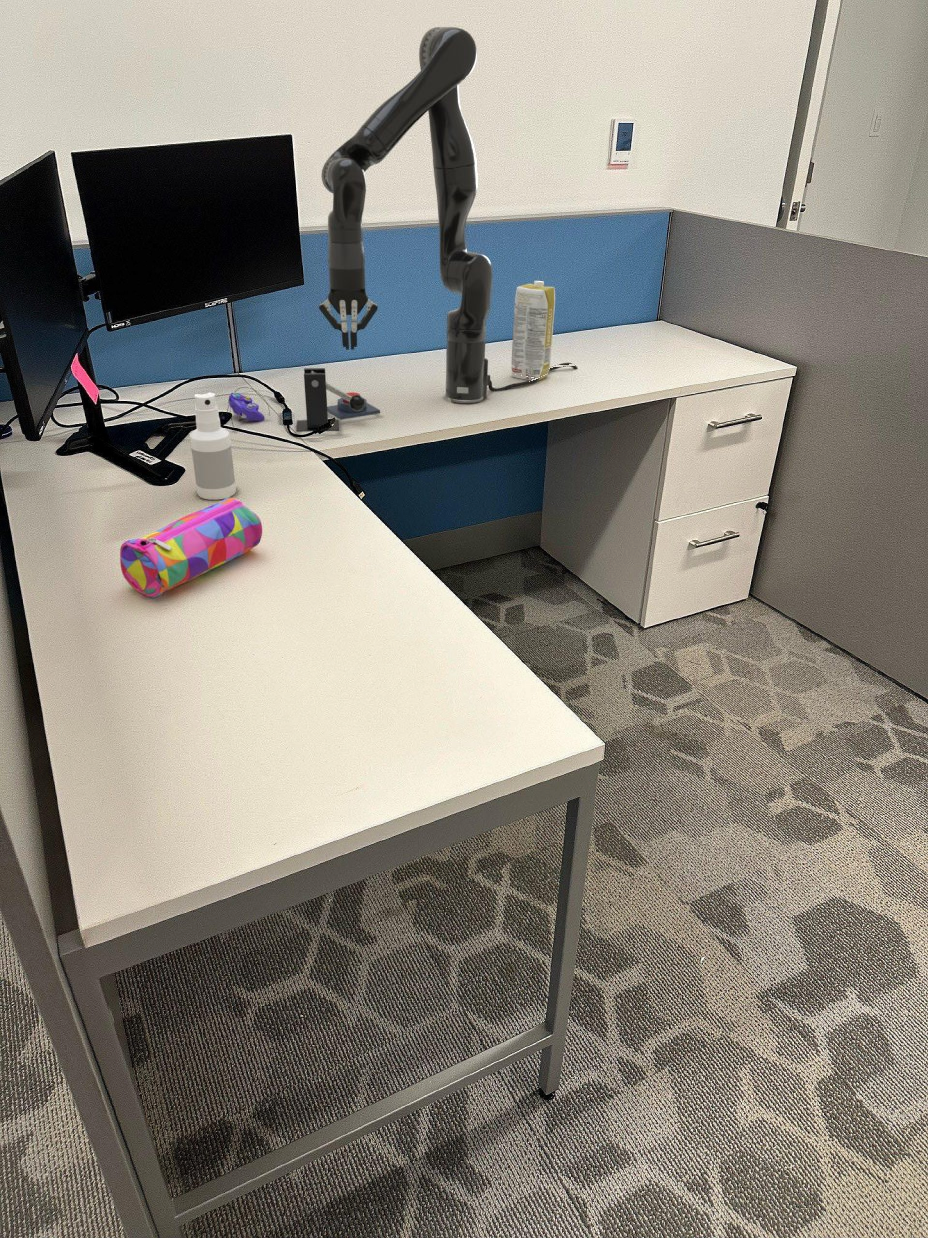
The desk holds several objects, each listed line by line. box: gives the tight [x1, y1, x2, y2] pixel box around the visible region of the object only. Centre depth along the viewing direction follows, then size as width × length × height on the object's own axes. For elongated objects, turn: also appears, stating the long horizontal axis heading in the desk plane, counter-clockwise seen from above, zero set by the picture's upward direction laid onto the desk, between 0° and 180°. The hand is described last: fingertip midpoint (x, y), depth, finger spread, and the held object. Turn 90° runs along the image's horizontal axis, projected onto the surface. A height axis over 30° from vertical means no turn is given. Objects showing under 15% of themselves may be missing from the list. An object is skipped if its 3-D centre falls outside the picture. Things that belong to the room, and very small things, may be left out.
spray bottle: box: [189, 392, 237, 501], centre depth 153 cm, size 7×7×18 cm
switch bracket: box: [295, 367, 340, 433], centre depth 185 cm, size 9×7×13 cm
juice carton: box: [510, 280, 556, 382], centre depth 224 cm, size 9×8×24 cm
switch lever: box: [311, 371, 365, 411], centre depth 185 cm, size 13×3×3 cm
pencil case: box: [119, 497, 263, 598], centre depth 129 cm, size 22×9×9 cm, turn 148°
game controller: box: [221, 386, 271, 428], centre depth 191 cm, size 10×8×10 cm
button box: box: [327, 397, 381, 421], centre depth 197 cm, size 10×8×4 cm
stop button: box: [344, 391, 361, 403], centre depth 196 cm, size 4×4×2 cm
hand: (350, 348), depth 190 cm, fingers closed
